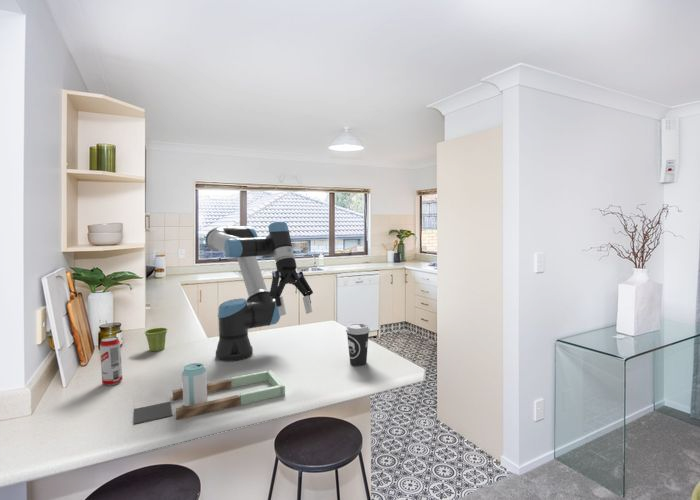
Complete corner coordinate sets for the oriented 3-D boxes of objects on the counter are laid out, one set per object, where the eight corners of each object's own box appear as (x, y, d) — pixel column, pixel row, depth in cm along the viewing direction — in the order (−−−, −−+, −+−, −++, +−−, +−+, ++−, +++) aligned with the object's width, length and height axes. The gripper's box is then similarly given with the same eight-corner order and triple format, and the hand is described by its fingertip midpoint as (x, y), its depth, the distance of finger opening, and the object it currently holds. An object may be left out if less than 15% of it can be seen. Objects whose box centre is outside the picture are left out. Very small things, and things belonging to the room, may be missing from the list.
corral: (240, 404, 122) (240, 395, 122) (230, 386, 136) (230, 377, 136) (285, 394, 128) (284, 385, 128) (270, 377, 143) (270, 369, 142)
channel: (176, 419, 113) (176, 411, 113) (172, 397, 127) (172, 390, 127) (240, 405, 122) (239, 397, 122) (229, 386, 136) (229, 379, 136)
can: (188, 399, 127) (186, 362, 126) (210, 398, 127) (208, 361, 126) (179, 409, 120) (177, 371, 119) (203, 408, 120) (201, 370, 119)
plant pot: (148, 354, 170) (147, 334, 170) (142, 349, 177) (141, 330, 177) (171, 349, 176) (170, 330, 176) (164, 344, 184) (163, 326, 183)
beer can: (107, 387, 136) (105, 342, 135) (98, 384, 139) (95, 339, 138) (126, 381, 141) (123, 337, 140) (116, 378, 145) (114, 335, 143)
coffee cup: (368, 368, 150) (367, 329, 149) (343, 366, 152) (343, 328, 151) (371, 359, 160) (371, 323, 159) (348, 358, 162) (348, 322, 161)
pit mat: (133, 424, 111) (133, 423, 111) (134, 409, 120) (134, 408, 120) (172, 415, 116) (172, 414, 116) (170, 402, 124) (170, 401, 124)
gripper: (266, 254, 140) (277, 313, 134) (314, 258, 159) (326, 309, 154) (253, 262, 144) (263, 319, 138) (301, 264, 163) (312, 314, 158)
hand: (296, 314), depth 146 cm, fingers open, 13 cm apart
